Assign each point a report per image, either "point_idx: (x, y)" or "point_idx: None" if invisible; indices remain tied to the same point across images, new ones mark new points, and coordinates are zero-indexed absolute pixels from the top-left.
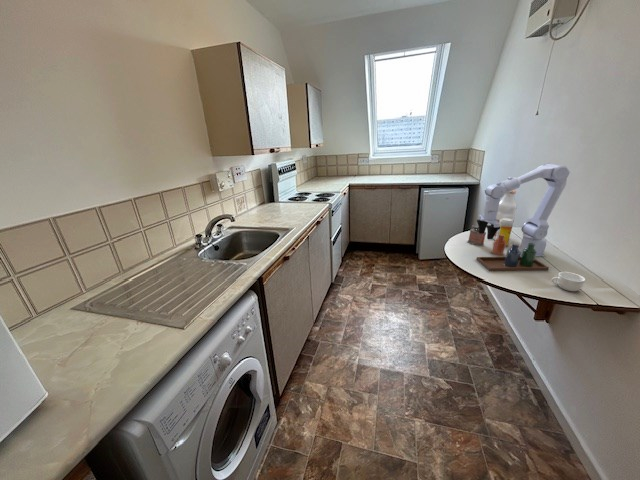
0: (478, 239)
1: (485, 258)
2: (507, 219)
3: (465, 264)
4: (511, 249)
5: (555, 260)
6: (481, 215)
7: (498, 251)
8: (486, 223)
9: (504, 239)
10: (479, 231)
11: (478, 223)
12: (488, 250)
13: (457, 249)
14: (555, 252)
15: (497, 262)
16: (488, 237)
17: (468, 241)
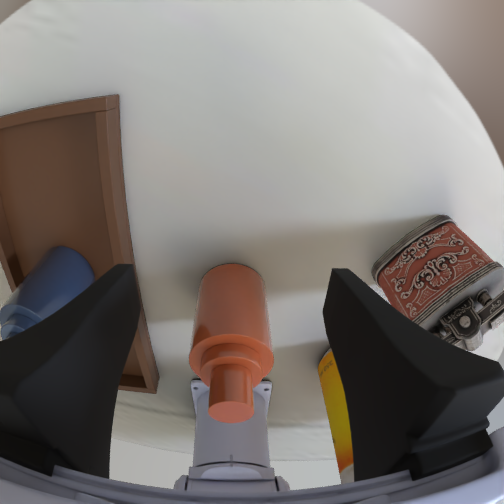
0: (411, 273)
1: (101, 161)
2: None
3: (73, 7)
4: (12, 329)
5: (167, 427)
6: (502, 487)
7: (199, 299)
8: (359, 439)
9: (329, 394)
10: (346, 280)
11: (430, 354)
12: (295, 270)
13: (351, 55)
14: None
15: (84, 222)
16: (105, 279)
17: (446, 218)
